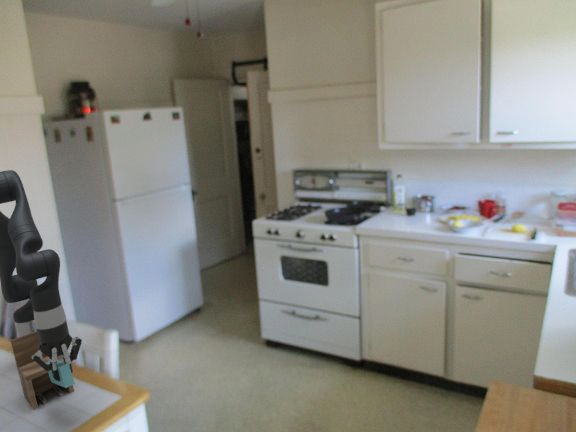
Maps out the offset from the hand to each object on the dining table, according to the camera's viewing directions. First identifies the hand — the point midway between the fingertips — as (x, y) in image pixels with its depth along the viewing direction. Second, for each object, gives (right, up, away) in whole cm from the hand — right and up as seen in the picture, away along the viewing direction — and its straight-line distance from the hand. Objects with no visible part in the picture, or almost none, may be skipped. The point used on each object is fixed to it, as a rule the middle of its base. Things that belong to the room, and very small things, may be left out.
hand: (63, 377), depth 138 cm
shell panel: (-1, -2, +2) cm, 3 cm away
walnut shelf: (-12, -11, +16) cm, 23 cm away
